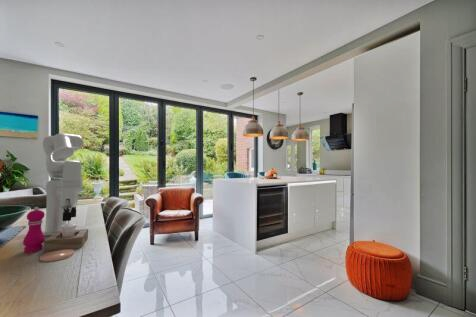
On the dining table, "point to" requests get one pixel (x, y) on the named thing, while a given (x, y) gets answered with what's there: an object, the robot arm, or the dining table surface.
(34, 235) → the pepper mill
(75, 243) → the bottle holder
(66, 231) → the smoothie
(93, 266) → the dining table surface
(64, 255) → the tan round disc
